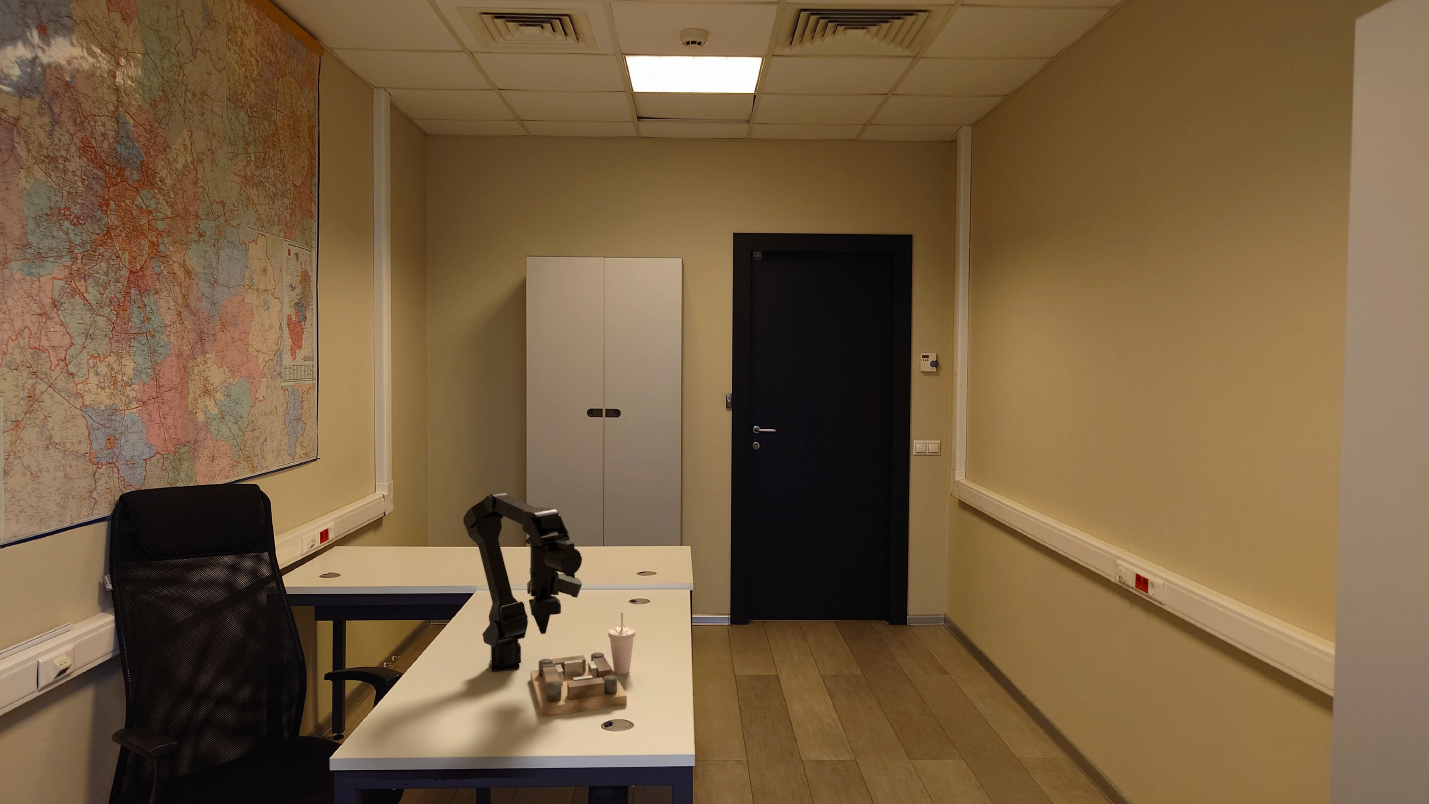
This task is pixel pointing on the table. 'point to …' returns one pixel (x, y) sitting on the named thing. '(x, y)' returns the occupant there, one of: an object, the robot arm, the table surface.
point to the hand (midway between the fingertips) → (543, 633)
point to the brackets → (576, 670)
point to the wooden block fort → (580, 688)
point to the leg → (551, 682)
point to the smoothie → (621, 647)
